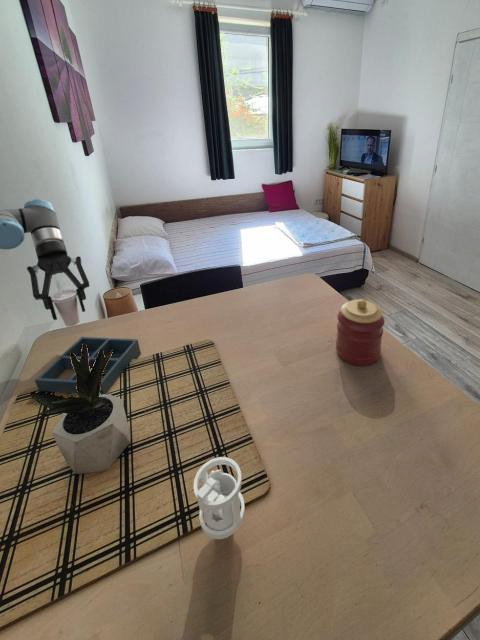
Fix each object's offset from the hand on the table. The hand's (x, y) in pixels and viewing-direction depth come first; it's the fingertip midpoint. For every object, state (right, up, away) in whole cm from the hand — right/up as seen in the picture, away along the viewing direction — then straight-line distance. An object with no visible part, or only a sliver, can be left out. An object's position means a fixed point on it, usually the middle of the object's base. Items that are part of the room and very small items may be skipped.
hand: (69, 314), depth 94 cm
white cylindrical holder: (+53, -30, -40) cm, 72 cm away
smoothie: (-2, -4, +5) cm, 6 cm away
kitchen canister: (+84, -12, +2) cm, 85 cm away
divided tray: (+10, -15, -4) cm, 19 cm away
